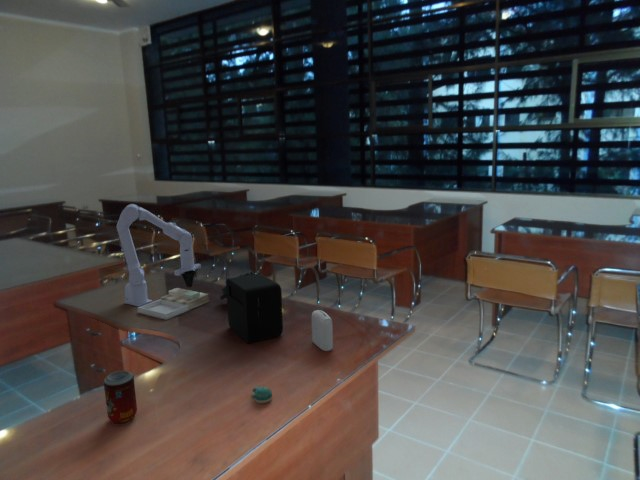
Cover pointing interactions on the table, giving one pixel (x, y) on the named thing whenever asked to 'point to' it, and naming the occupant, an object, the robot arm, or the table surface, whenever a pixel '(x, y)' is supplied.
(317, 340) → the photo printer
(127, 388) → the soda can
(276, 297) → the air purifier
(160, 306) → the box
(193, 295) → the tile sage
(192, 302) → the bench board
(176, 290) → the tile cream
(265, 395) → the green domed piece
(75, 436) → the table surface
